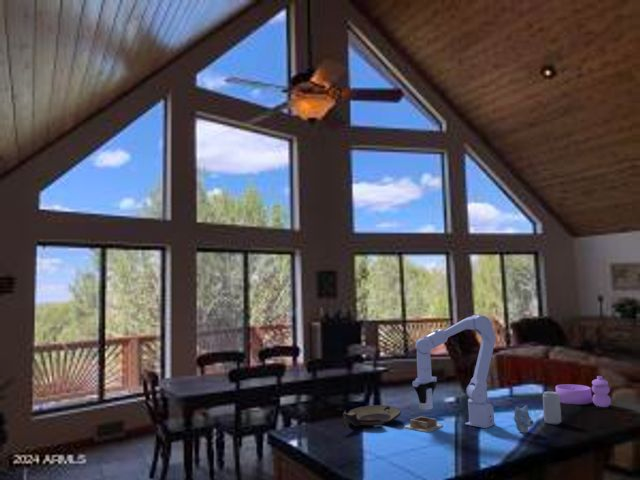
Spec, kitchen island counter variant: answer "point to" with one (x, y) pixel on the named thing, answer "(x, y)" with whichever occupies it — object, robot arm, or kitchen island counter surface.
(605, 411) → the kitchen island counter surface
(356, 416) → the olive shallow bowl
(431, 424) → the collar
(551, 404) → the beverage can
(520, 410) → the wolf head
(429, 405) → the peg
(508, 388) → the kitchen island counter surface
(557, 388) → the container set
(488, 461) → the kitchen island counter surface
